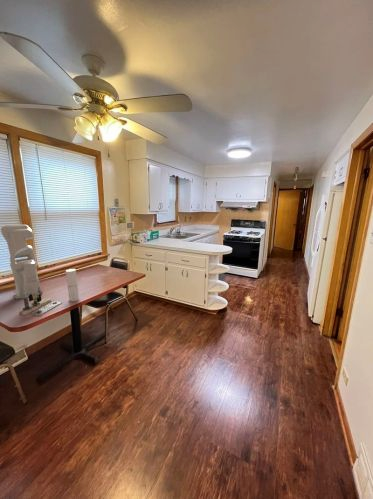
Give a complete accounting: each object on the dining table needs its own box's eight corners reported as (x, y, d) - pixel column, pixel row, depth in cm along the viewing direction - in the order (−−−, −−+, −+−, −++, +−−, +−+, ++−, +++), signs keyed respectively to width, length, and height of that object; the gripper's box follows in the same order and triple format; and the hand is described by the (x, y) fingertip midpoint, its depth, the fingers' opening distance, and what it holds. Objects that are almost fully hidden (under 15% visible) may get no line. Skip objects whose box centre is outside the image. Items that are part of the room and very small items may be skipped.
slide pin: (31, 305, 156) (29, 293, 154) (35, 303, 159) (33, 292, 157) (36, 305, 155) (35, 294, 153) (40, 303, 158) (38, 292, 156)
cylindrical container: (67, 300, 169) (63, 271, 164) (74, 296, 176) (71, 268, 171) (73, 301, 167) (70, 272, 162) (80, 298, 174) (77, 269, 168)
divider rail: (19, 314, 148) (17, 301, 145) (45, 300, 169) (44, 289, 167) (25, 315, 147) (23, 302, 145) (51, 301, 168) (49, 289, 166)
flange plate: (31, 314, 147) (31, 313, 147) (54, 302, 166) (54, 301, 166) (40, 316, 146) (39, 314, 145) (61, 303, 165) (61, 301, 164)
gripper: (17, 279, 151) (21, 302, 155) (37, 281, 148) (40, 304, 151) (26, 276, 158) (30, 297, 162) (46, 277, 155) (49, 300, 159)
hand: (35, 301), depth 157 cm, fingers open, 6 cm apart
